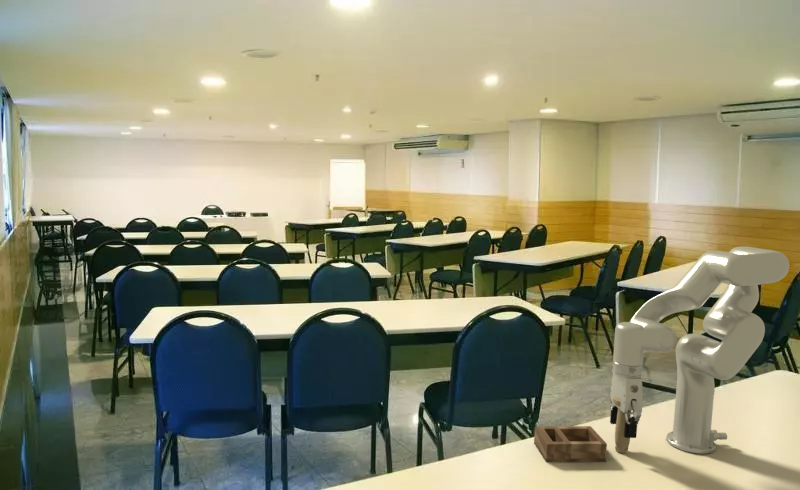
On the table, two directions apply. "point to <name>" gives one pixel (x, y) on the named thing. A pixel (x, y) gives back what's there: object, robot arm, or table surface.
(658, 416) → the table surface
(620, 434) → the handle
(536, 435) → the socket block
